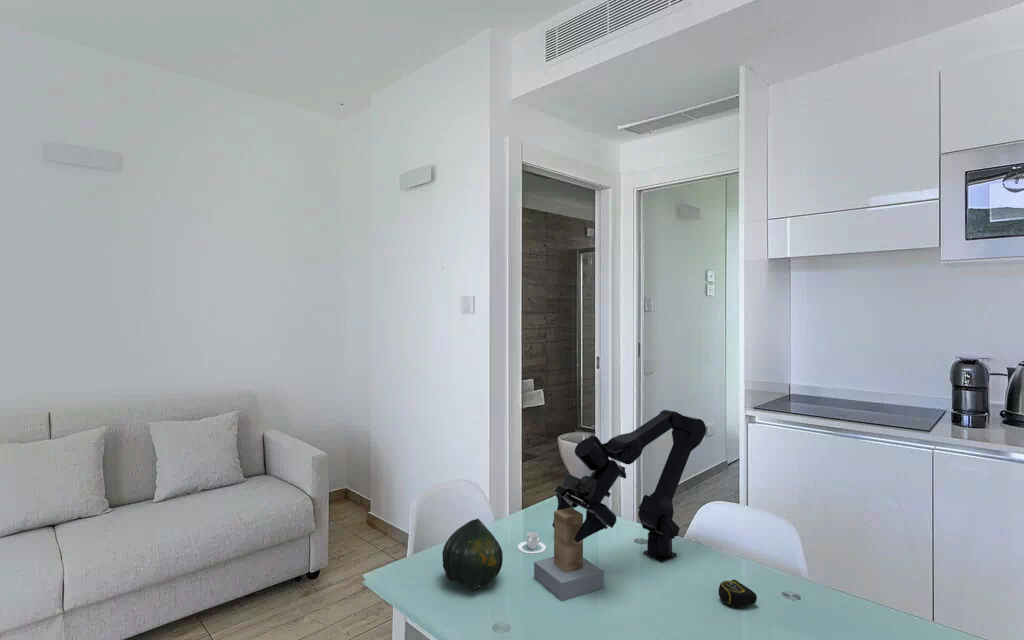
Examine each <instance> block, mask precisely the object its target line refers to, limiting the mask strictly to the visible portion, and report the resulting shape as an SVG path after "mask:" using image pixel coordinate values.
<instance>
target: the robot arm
mask: <svg viewBox="0 0 1024 640" xmlns="http://www.w3.org/2000/svg"><path fill="white" fill-rule="evenodd" d="M670 430H671V437H672V447H671V449H670V451H669V454H668V456H667V459H666V461H665V464H664V466H663V469H662V471H661V473H660V477H659V479H658V482H657V484H656V486H655V489H654V491H653V493H651V494H650V495H647V494H644V495H643V497H642V500H641V503H640V504H639V506H638V507H637V508H638V509H639V510H638V512H637V513H638V514H637V516H638V519H639V521H640V523H641V526H642V529H644V530H647V531H649V532H647V539H646V540H647V541H646V542H647V549H646V550H643V552H642V553H643V554H644V555H646V556H647V557H650V558H653V559H654V560H657V561H659V562H660V563H661V562H662V563H663V562H666V561H668V560H670V559H673V558H675V557H677V556H678V554H677V552H674V551H673V540H674V539H676V537H678V535H679V533H680V529H681V528H680V527H679V525H677V524H676V523H677V522H675V521H674V520H673V516H674V514H675V512H674V505H673V499H674V496H675V494H676V491H677V489H678V486H679V483H680V480H681V479H682V476H683V473H684V470H685V468H686V465H687V462H688V461H689V460H688V459H689V457H690V455H691V453H692V451H693V450H695V449H696V448H698V446H699V445H701V443H702V441H703V439H704V437H705V436H706V434H707V426H706V424H705V422H704V420H703V419H701V418H696V417H692V416H686V415H684V414H681V413H679V412H677V411H674V410H669V409H664V410H661V411H660V412H659V414H657V415H656V416H655V417H652V418H651V419H649V420H647V422H645V423H644V424H642V425H641V426H639V427H637V428H636V429H635V430H633V431H630V432H627V433H623V434H621V433H620V434H619V435H616V436H614V437H612V438H609V440H608V441H606V442H604V443H602V442H601V440H600V439H599V438H598V436H596V435H594V434H591V435H590V436H589V437H588V438H585V439H583V440H581V441H580V442H578V443H577V445H576V446H575V449H574V454H575V456H576V457H577V458H578V459H579V460H580V461H581V463H583V465H585V467H586V468H587V469H588V470H589V471H592V473H591V474H590V475H587V474H586V475H583V476H582V477H581V478H580V477H578V476H575V475H572V474H570V473H568V472H567V473H566V474H565V477H564V479H563V481H562V483H561V484H558V485H557V486H556V488H555V490H554V493H555V497H556V498H557V508H556V511H557V510H562V509H567V508H573V509H576V508H577V507H581V508H583V509H585V510H586V513H585V514H586V515H585V519H584V520H583V524H582V526H581V528H580V529H579V531H578V533H577V534H576V536H575V539H574V540H575V541H576V542H579V541H581V540H583V541H584V540H585V539H586V538H588V537H591V535H594V534H595V533H598V532H600V531H602V530H604V529H605V530H607V529H608V528H611V529H613V527H614V526H615V525H616V523H617V515H616V514H615V513H614V512H613V511H612V510H611V509H610V508H609V507H608V506H607V505H606V504H604V503H602V502H603V500H604V498H605V497H607V498H609V497H610V496H611V492H610V489H611V488H612V487H613V485H614V484H615V482H616V481H617V480H618V478H619V477H620V478H622V479H627V473H626V467H625V466H623V465H619V464H618V463H622V464H625V465H631V464H633V463H634V462H636V461H637V459H638V458H639V457H640V456H641V455H642V453H643V450H644V449H645V448H646V447H647V446H648V445H650V444H651V443H652V442H654V441H656V440H657V439H658V438H660V437H661V436H662V435H664V434H665V433H667V432H669V431H670ZM617 462H618V463H617ZM552 527H553V528H554V520H553V523H552Z"/></svg>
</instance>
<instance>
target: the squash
mask: <svg viewBox="0 0 1024 640" xmlns="http://www.w3.org/2000/svg"><path fill="white" fill-rule="evenodd" d="M441 553H442V555H441V556H442V568H443V571H444V572H445V573H444V574H445V576H446V579H448V581H450V582H453V583H457V584H458V585H464V586H465V587H466V589H468V590H470V591H475V590H476V589H477V588H479V587H481V588H482V587H487V586H489V585H491V583H492V582H493V580H494V579H495V578H497V576H498V575H499V573H500V571H501V569H502V567H503V566H502V565H503V562H504V561H503V560H504V559H503V558H504V555H503V550H502V547H501V545H500V544H499V541H498V540H497V539H496V538H495V536H494V534H493V533H492V532H491V531H490V530H489V528H488V527H487V526H486V525H485V524H484V522H482V521H481V520H480V518H475V519H472V520H470V521H468V522H466V523H464V524H463V525H461V526H460V527H459V528H457V529H456V530H455V531H454V532H453V533H452V534H451V535H450V536H449V538H448V539H447V540H446V542H444V546H443V549H442V552H441Z"/></svg>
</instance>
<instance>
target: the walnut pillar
mask: <svg viewBox="0 0 1024 640" xmlns="http://www.w3.org/2000/svg"><path fill="white" fill-rule="evenodd" d="M553 521H554V527H553V543H554V544H553V557H554V565H556V566H557V567H558V568H560V569H561V570H562V571H563V572H565V573H567V572H571V571H575V570H579V569H582V568H583V558H584V539H583V540H581V541H579V542H576V541H575V540H574V539H575V536H576V534H577V533H578V531H579V529H580V528H581V526H582V524H583V523H584V513H582V512H581V511H578V510H576V508H574V509H573V508H567V509H562V510H557V509H556V510H553Z"/></svg>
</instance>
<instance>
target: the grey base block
mask: <svg viewBox="0 0 1024 640" xmlns="http://www.w3.org/2000/svg"><path fill="white" fill-rule="evenodd" d="M604 573H605V571H604V570H603V569H601V568H600V567H598V566H597V565H595V564H594V563H593V562H591V561H589V560H588V559H586V558H585V557H583V568H582V569H579V570H575V571H571V572H567V573H565V572H563V571H562V570H561V569H560V568H558V567H557V566H556V565H554V556H551V557H548V558H543V559H540V560H536V561H534V562H533V579H535V580H536V582H538V583H539V584H541V585H542V586H544V588H545V589H546V590H548V591H549V592H550V593H552V595H554V596H556V597H557V599H559V600H561V601H562V602H563V601H566V600H569V599H571V598H572V599H573V598H575V597H579V596H582V595H584V594H588V593H591V592H594V591H597V590H600V589H603V588H604V586H605V585H604V583H605V582H604V581H605V580H604V578H605V576H604Z"/></svg>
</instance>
